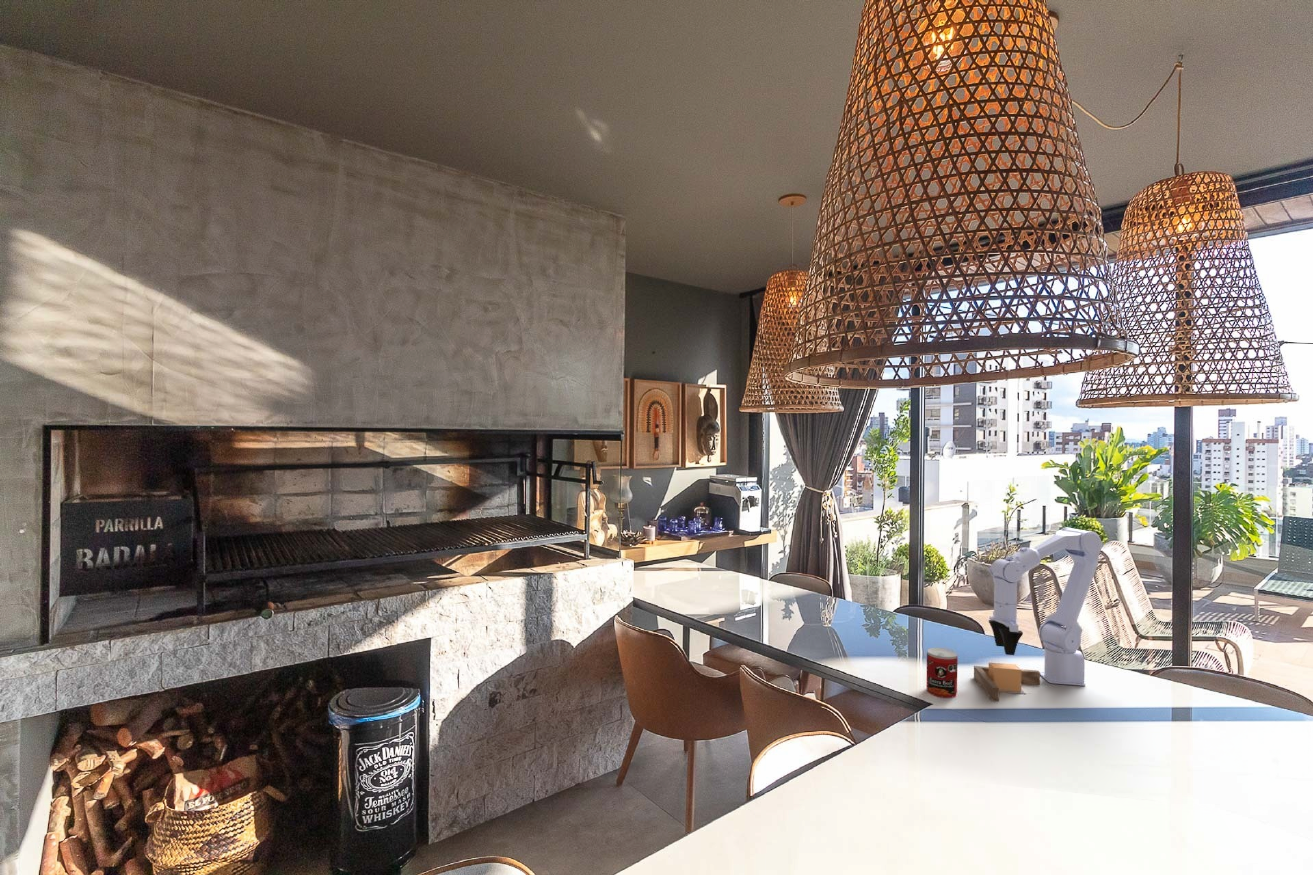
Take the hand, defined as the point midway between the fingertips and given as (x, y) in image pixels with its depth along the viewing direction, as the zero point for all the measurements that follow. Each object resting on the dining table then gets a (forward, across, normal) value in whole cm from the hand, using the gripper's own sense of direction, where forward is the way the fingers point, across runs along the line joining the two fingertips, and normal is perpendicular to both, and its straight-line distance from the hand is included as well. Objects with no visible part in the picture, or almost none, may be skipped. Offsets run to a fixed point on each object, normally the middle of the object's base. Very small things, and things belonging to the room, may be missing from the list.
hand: (1004, 650), depth 187 cm
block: (+9, +4, -1) cm, 10 cm away
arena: (+9, +6, +1) cm, 11 cm away
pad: (+9, +4, -2) cm, 10 cm away
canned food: (+9, +12, -20) cm, 25 cm away
